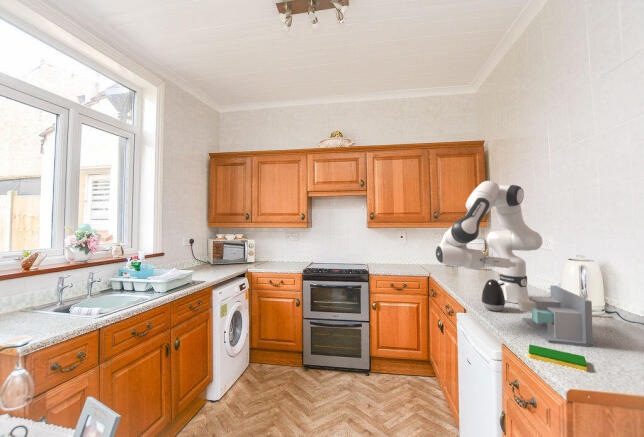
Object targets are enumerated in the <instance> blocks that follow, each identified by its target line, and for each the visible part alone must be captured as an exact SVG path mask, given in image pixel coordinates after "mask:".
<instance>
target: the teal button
mask: <svg viewBox="0 0 644 437" xmlns="http://www.w3.org/2000/svg"><path fill="white" fill-rule="evenodd" d="M531 318H532V320H534V321H535V322H536V323H538V324H541V322H544V323H554V313H553V312H552V311H543V310H537V309H535V308H532V311H531Z"/></svg>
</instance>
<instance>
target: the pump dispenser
mask: <svg viewBox="0 0 644 437" xmlns="http://www.w3.org/2000/svg"><path fill="white" fill-rule="evenodd" d="M497 281H498V280H496V279H493V278H491V279H488V280H487V281H486V282H485V284H484V286H483V289H482V293H481V302H482V305H483V306H484V308H485V309H486V310H489V311H491V310H492V312H499V311H502V310H503V309H504V307H505V305H506V302H505V297H504V293H503V290H502V288H501V285H504V284H505V283H498V282H497Z"/></svg>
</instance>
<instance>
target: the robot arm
mask: <svg viewBox="0 0 644 437" xmlns="http://www.w3.org/2000/svg"><path fill="white" fill-rule="evenodd" d="M524 198H525V192H524V189H523V188H522V187H521V186H519V185H515V184H498V183H497V182H495V181H492V180H485V181H483V182H481V183H480V184H478V186H476V188H474V189H473V191H472V192H471V193H470V195H469V196H468V197H467V200H466V202H465V208H466V210H467V212H466V214H465V215H464V216H463V217H461V218H459V219H457V220H456V221H455V222H454V223H453V225H452V226H450V227H449V228H448V229H447V230H446V231H445V232H444V233H443V235H442V239H441V241H440V243H439V245H438V246H437V247H436V249H435V256H436V259H437V261H438V262H439V263H441V264H442V265H446V266H450V267H454V268H455V267H456V268H459V267H460V268H461V267H462V268H464V269H466V270H474V271H480V270H482V269H483V268H485V267H491V268H501V273H500V274H499V273H498V275H497V277H499V279H498V280H496V281H497V282H498V283H505V284H504V285H501V288H502V290H503V293H504V297H505V303H512V304H518V299H522V300H529V301H531V299H530V295H529V291H528V276H527V267H526V266H527V264H526V261H525V260H524V259H523V258H521V257H519V256H517V255H515V254H514V253H513V251H521V252H522V251H524V252H525V251H526V252H527V251H528V252H529V251H536V250H537V251H538V250H539V249H540V248H541V247H542V245H543V237H542V236H541V234H540V233H539V232H537V231H535V230H533V229H531V228H530V226H528V225H527V224H526V223H525V220H524V217H523V213H522V206H521V203H522V202H523V200H524ZM493 207H495V209H496V215H497V216H496V218H497V222H498V224H499V225H500V226H501V228H504V229H507V230H493V231H490V232H489V233H488V234H487V235H486V243H487V246H488V247H490V248H491V249H492V250H493V251H494V252H495V253H497V255H498V256H487V255H486V254H485V253H484V252H483V251H482V250H481V249H476V248H475V249H474V248H469V247H468V246H467V244H469V243H471V242H473V241H475V240H476V239H477V237H478V236H479V232H480V224H481V222H482V220H483V218H484V217H485V215H487V214H488V213H489V212H490V210H491V209H492V208H493Z"/></svg>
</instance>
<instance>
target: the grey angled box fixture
mask: <svg viewBox="0 0 644 437" xmlns="http://www.w3.org/2000/svg"><path fill="white" fill-rule="evenodd" d="M530 301H536V302H537V310H543V311H552V312H553V313H554V323H544V322H541V324H538V323H536V322H535V321H534V320H532V317H531V318H530V317H522V318H521V320H522V321H523V322H524V323H525V324H526V325H527V326H528V327H530V328H531V329H532V330H533V331H535V332H536V334H538V335H539V336H540V337H541V338H542V339H544V340H545V341H546V342H547V343H549V344H556V345H557V344H558V345H560V344H561V345H567V346H569V345H570V346H577V347H578V346H580V347H588V348H597V343H595V342H594V337H593V334H594V332H593V305H592V304H593V302H592V300H589V299H587V298H585V297H583V296H580V295H578V294H575V293H574V292H571V291H568V290H566V289H564V288H561V287H559V286H558V285H550V298H548V297H547V298H546V297H545V298H544V297H531V299H530Z"/></svg>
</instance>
